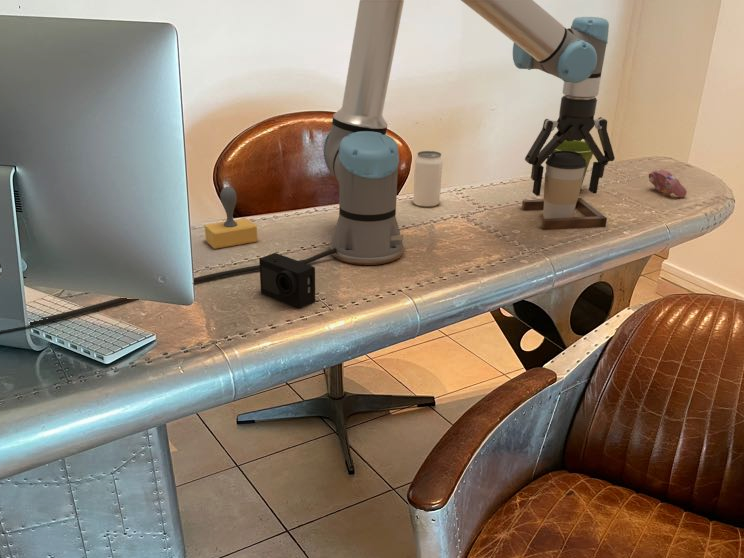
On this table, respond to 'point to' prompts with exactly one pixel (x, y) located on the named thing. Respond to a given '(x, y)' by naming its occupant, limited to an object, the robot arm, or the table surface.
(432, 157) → the can
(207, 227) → the rubber stamp
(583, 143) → the plant pot
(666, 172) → the video game controller
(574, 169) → the coffee cup
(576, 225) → the frame
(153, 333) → the table surface
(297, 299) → the digital camera
